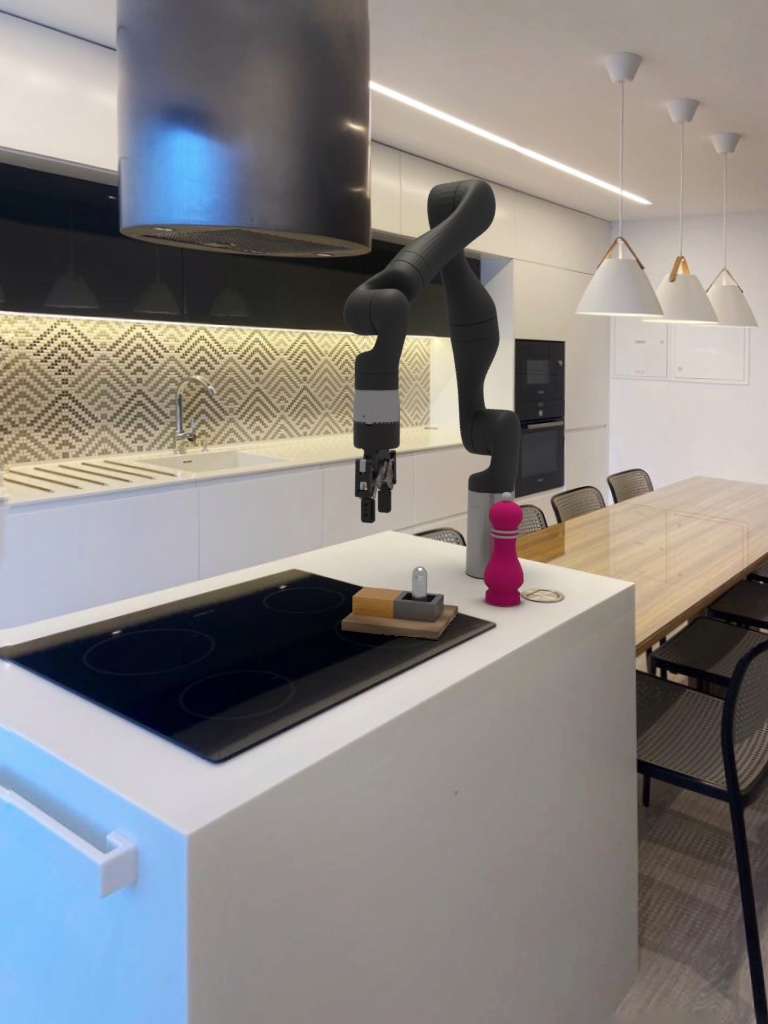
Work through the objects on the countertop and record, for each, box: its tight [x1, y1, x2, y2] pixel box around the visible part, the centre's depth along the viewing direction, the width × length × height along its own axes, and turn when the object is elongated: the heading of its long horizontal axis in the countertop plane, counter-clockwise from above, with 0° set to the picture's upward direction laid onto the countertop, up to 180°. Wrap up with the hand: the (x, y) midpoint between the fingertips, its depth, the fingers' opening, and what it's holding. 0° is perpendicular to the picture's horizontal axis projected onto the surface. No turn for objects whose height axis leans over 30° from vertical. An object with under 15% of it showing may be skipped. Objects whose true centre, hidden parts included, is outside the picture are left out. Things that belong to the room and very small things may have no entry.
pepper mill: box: [482, 492, 525, 607], centre depth 146 cm, size 7×7×20 cm
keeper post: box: [411, 566, 428, 602], centre depth 134 cm, size 2×2×8 cm
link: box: [352, 586, 445, 623], centre depth 136 cm, size 6×14×3 cm, turn 72°
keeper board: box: [341, 604, 459, 638], centre depth 136 cm, size 14×16×2 cm
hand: (376, 517), depth 134 cm, fingers open, 8 cm apart
